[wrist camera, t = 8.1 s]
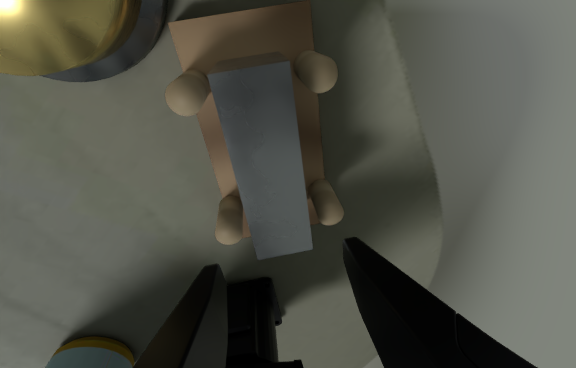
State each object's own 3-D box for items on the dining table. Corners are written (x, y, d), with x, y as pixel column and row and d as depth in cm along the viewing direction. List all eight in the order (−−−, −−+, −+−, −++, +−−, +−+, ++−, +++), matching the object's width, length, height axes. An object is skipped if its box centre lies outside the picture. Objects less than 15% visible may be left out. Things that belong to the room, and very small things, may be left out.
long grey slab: (300, 205, 20) (313, 249, 16) (255, 213, 19) (257, 260, 16) (278, 51, 15) (289, 60, 11) (218, 61, 14) (207, 74, 11)
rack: (329, 211, 22) (345, 248, 18) (231, 230, 21) (228, 271, 18) (313, 0, 15) (334, -8, 11) (165, 24, 14) (138, 24, 11)
